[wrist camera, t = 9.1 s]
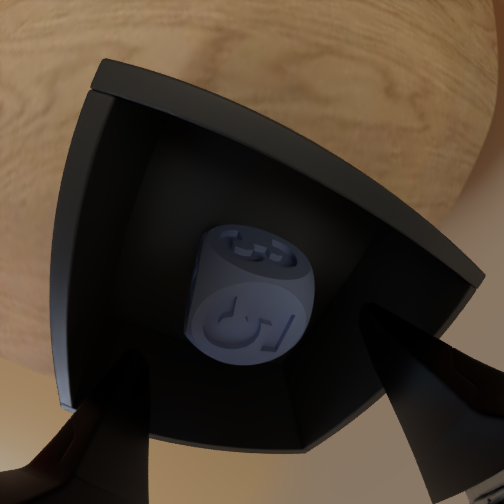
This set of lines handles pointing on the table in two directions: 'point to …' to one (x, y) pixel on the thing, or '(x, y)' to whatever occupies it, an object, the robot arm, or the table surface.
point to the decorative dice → (248, 295)
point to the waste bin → (185, 250)
